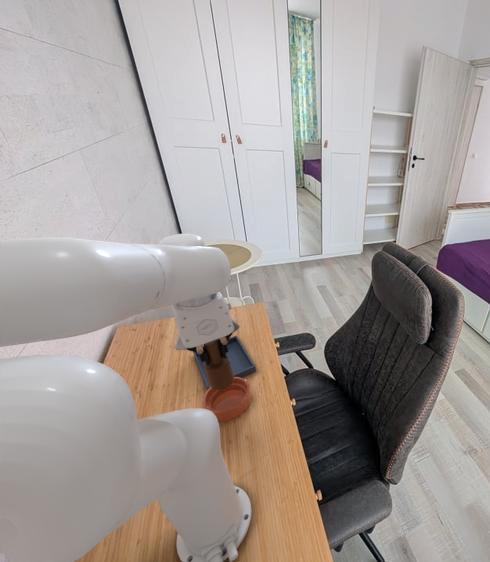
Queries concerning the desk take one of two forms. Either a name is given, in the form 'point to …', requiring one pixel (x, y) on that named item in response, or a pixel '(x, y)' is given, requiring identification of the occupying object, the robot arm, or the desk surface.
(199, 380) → the desk surface
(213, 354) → the bottle
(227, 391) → the bowl
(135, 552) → the desk surface
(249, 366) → the tray
